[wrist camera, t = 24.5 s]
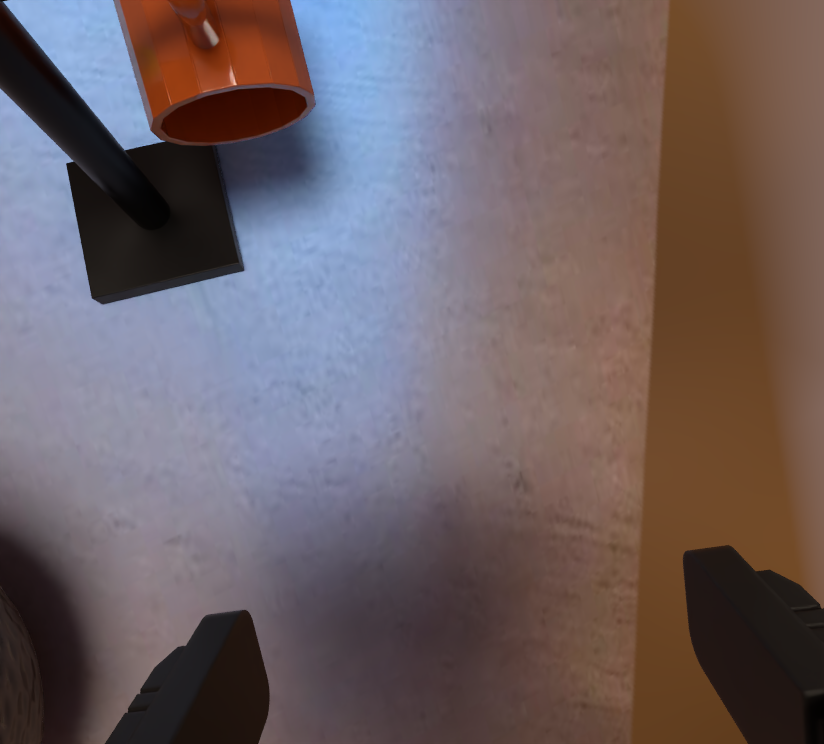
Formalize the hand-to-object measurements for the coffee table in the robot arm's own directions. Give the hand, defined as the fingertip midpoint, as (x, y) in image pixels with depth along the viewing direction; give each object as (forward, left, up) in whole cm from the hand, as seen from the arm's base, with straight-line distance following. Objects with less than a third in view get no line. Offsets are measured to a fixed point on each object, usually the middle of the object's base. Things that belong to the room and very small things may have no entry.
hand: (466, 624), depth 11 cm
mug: (-4, -28, -7) cm, 29 cm away
